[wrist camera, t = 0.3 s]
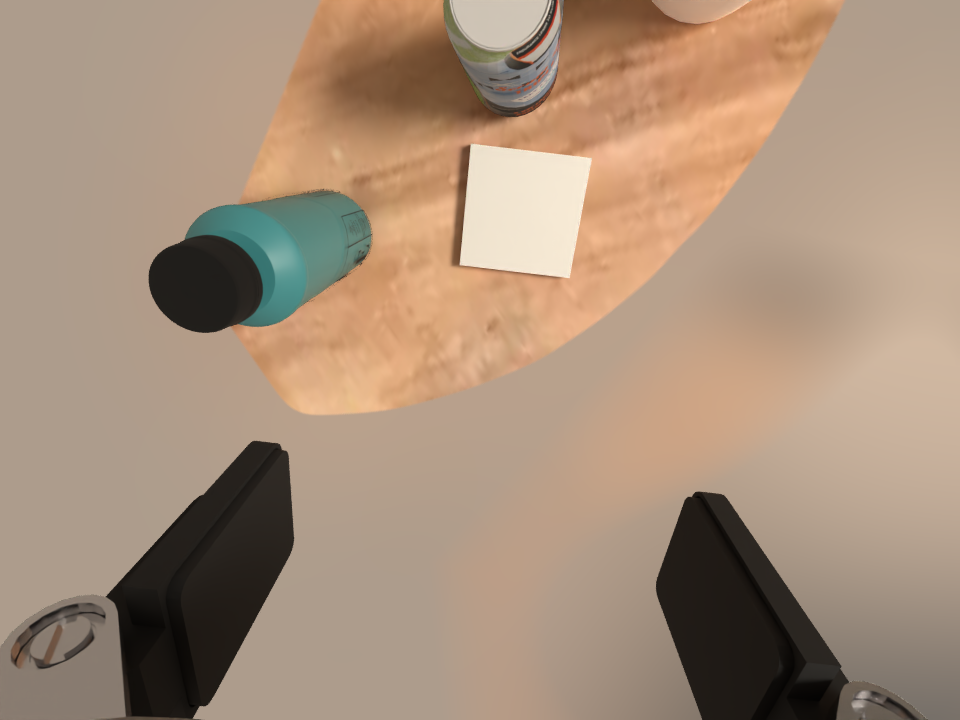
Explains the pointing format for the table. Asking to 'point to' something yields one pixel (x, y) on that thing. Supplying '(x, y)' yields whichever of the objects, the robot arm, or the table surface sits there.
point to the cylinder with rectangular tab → (698, 9)
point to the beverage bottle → (259, 260)
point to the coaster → (523, 210)
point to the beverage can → (507, 50)
